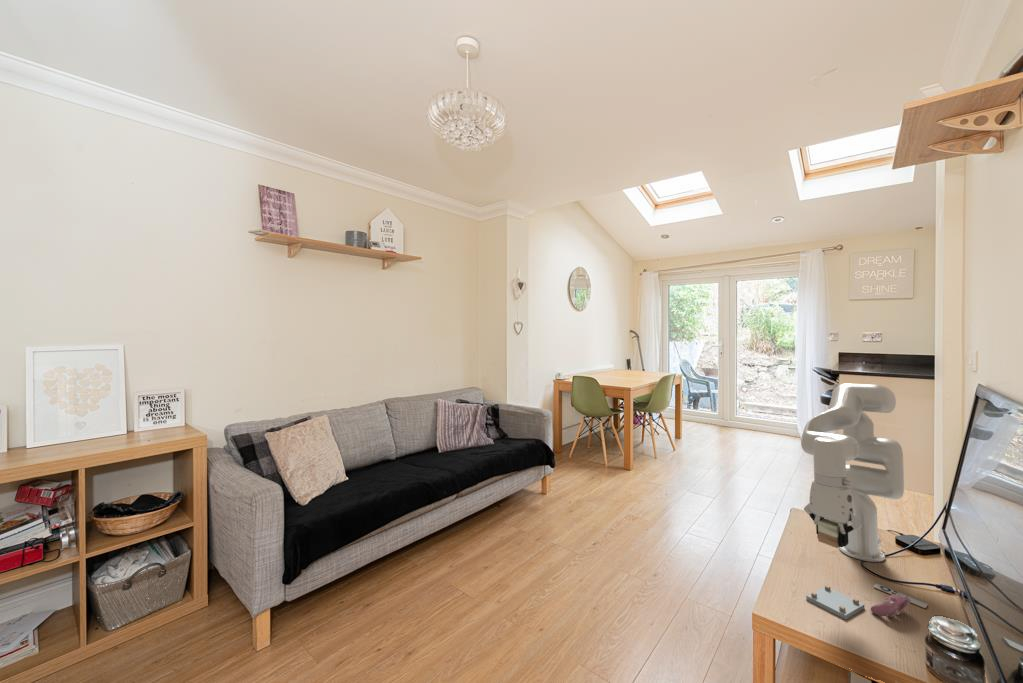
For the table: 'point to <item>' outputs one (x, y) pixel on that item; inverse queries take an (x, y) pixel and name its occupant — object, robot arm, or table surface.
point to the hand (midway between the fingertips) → (832, 541)
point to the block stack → (828, 532)
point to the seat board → (835, 602)
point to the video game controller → (891, 606)
